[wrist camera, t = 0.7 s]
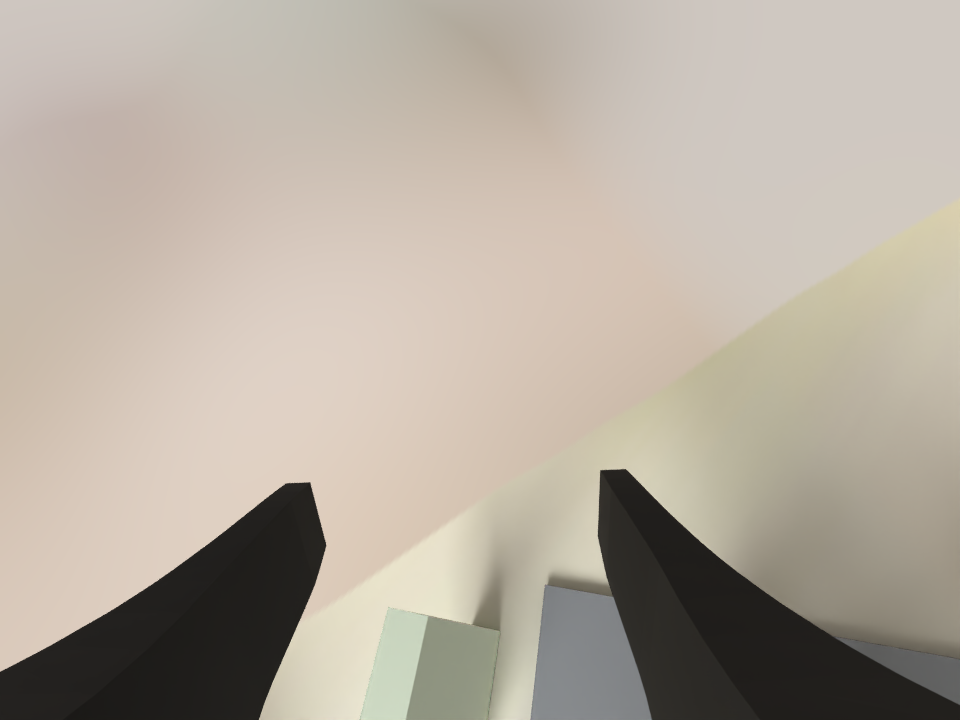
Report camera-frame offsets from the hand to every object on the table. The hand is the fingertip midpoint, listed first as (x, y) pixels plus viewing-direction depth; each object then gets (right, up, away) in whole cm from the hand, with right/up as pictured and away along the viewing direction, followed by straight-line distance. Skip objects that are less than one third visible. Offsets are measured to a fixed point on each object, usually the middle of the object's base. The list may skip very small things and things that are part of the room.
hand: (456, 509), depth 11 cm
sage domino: (0, -13, +12) cm, 17 cm away
